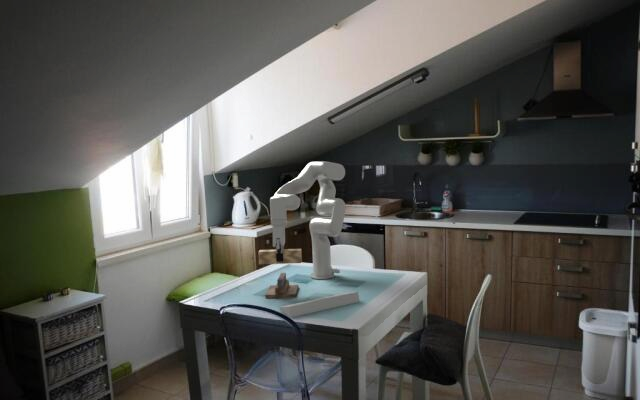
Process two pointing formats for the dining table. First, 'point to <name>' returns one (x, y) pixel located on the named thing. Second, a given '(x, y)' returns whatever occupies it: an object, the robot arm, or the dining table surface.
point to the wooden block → (288, 256)
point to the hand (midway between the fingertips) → (280, 259)
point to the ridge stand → (282, 288)
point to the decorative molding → (320, 304)
